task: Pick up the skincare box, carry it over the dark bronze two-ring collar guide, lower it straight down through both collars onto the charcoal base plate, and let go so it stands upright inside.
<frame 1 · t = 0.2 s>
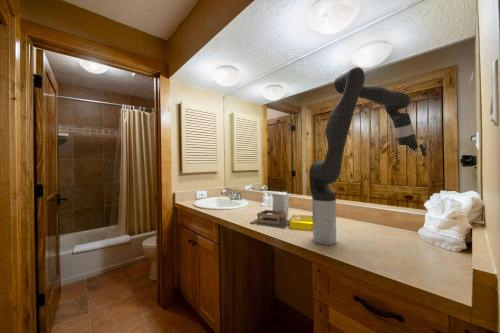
hand: (413, 164, 106), 31 cm above the worktop, tool tilted 20°, fingers open, 8 cm apart
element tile: (305, 227, 108), on the worktop
collar guide: (272, 222, 116), on the worktop
skincare box: (280, 217, 127), on the worktop
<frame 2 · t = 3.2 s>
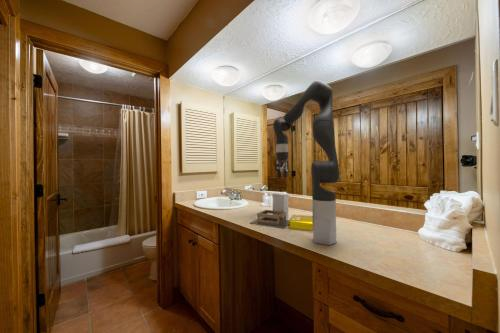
hand: (282, 178, 128), 24 cm above the worktop, tool pointing down, fingers open, 8 cm apart
nothing on the worktop moved.
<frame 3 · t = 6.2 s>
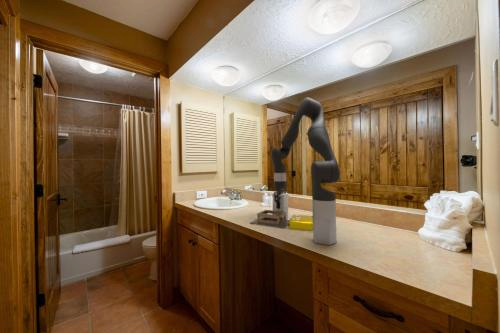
hand: (280, 207, 127), 6 cm above the worktop, tool pointing down, fingers closed on skincare box, 6 cm apart
skincare box: (280, 217, 127), on the worktop, touching gripper
everything else where it was.
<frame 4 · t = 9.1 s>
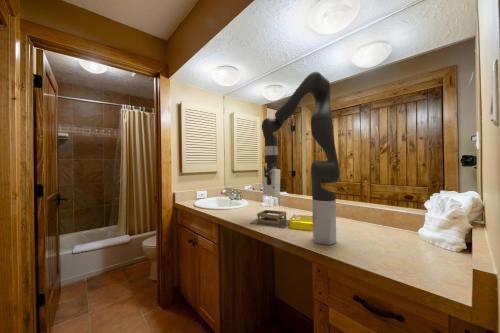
hand: (271, 184, 116), 21 cm above the worktop, tool pointing down, fingers closed on skincare box, 6 cm apart
skincare box: (271, 195, 116), point 15 cm above the worktop, touching gripper
everything else where it was.
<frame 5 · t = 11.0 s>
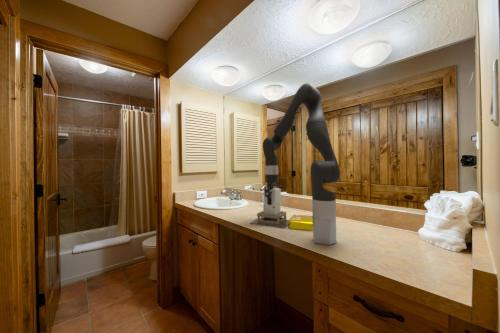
hand: (272, 203, 116), 11 cm above the worktop, tool pointing down, fingers closed on skincare box, 6 cm apart
skincare box: (272, 214, 116), point 4 cm above the worktop, touching gripper
everything else where it was.
when the fingers open (9 cm above the worktop, at t = 12.3 s): skincare box drops 2 cm, resting on collar guide.
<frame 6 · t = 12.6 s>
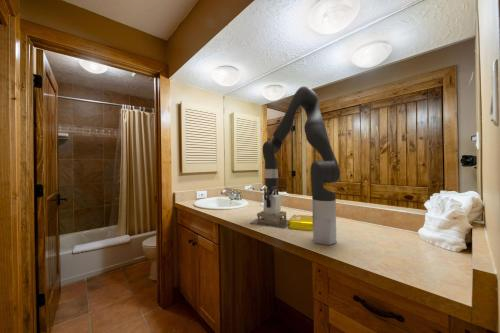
hand: (271, 206, 116), 9 cm above the worktop, tool pointing down, fingers open, 8 cm apart
skincare box: (272, 221, 116), resting on collar guide
everything else where it was.
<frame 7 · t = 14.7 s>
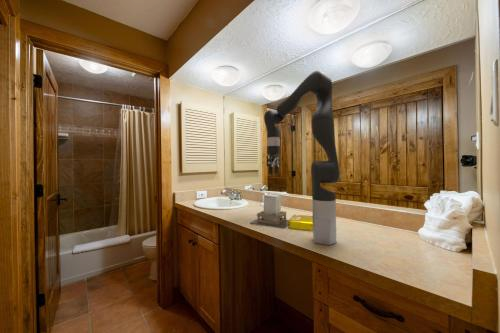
hand: (273, 173, 120), 27 cm above the worktop, tool pointing down, fingers open, 8 cm apart
nothing on the worktop moved.
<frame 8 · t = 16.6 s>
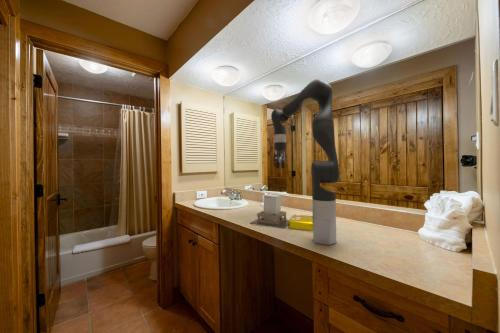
hand: (280, 168, 128), 30 cm above the worktop, tool pointing down, fingers open, 8 cm apart
nothing on the worktop moved.
at the end: skincare box 0.3 cm off-centre on the collar guide, point 0.4 cm above the collar guide's base; skincare box tilted 0°; the gripper is holding nothing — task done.
